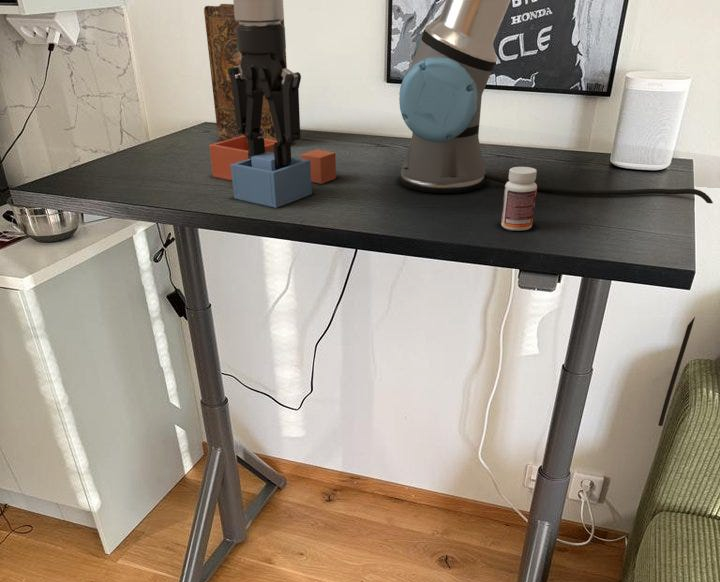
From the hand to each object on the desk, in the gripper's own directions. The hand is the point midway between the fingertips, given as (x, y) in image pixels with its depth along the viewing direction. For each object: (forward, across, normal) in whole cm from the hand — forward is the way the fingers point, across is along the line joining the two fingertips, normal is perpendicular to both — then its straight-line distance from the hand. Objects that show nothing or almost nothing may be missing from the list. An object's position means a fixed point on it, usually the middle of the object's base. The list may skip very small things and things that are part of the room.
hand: (271, 181), depth 125 cm
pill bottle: (+2, -42, -9) cm, 43 cm away
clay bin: (+2, +13, -8) cm, 15 cm away
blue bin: (+2, 0, 0) cm, 2 cm away
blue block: (0, 0, 0) cm, 0 cm away
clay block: (+2, 0, -13) cm, 13 cm away
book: (+3, +30, -29) cm, 42 cm away
